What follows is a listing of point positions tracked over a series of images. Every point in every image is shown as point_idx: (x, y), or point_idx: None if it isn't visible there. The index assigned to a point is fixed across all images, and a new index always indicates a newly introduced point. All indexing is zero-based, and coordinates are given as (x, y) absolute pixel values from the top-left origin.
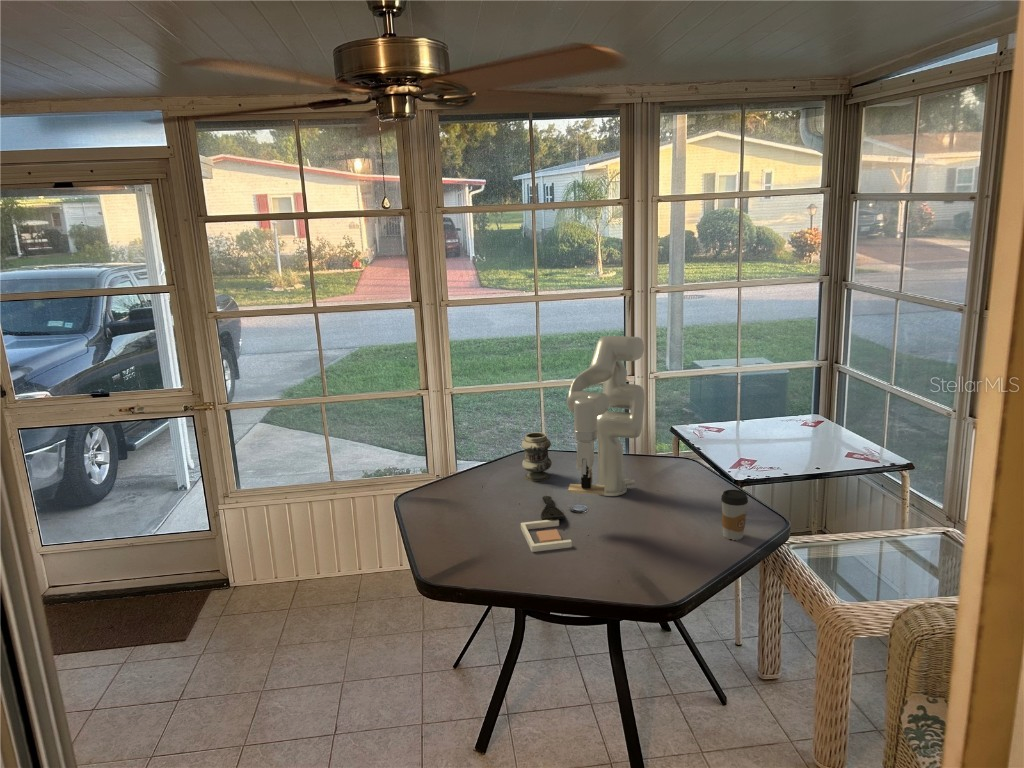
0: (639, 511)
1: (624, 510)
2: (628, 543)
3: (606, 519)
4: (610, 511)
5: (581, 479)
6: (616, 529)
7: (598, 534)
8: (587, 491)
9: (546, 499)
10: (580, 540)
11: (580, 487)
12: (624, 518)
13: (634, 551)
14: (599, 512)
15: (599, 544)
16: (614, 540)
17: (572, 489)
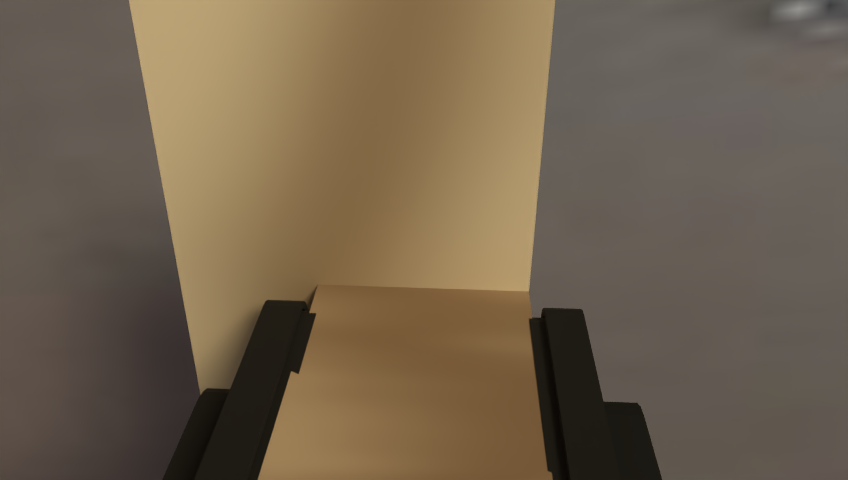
0: (750, 470)
1: (782, 372)
2: (132, 423)
3: (573, 244)
4: (769, 264)
5: (204, 460)
6: None
7: None
8: (207, 381)
9: None
10: (24, 47)
11: (345, 250)
12: (603, 379)
13: (20, 460)
14: (751, 166)
15: (20, 229)
16: (146, 333)
17: (184, 73)
